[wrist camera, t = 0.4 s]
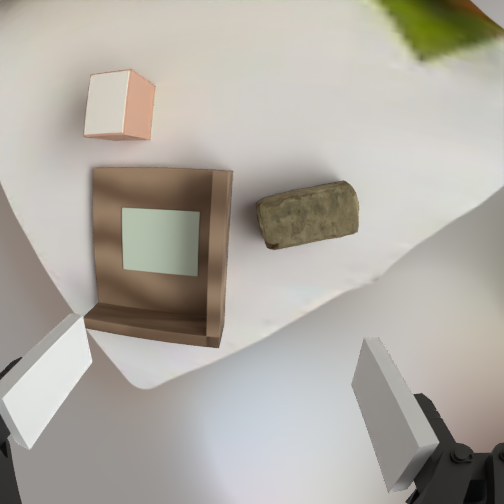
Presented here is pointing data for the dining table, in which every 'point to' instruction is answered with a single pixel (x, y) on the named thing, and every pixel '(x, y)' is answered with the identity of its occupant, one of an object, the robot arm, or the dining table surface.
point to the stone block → (308, 215)
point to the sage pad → (160, 240)
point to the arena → (161, 284)
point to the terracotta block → (119, 106)
